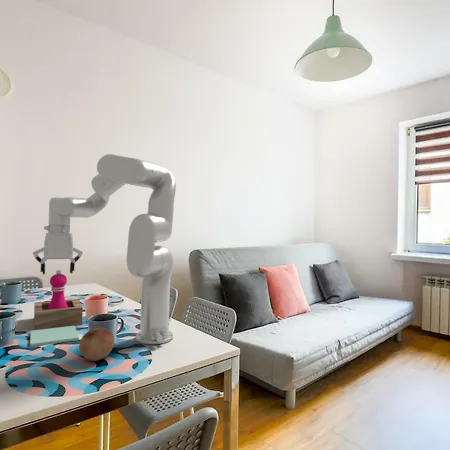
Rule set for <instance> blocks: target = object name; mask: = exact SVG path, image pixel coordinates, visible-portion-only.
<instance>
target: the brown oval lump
mask: <svg viewBox="0 0 450 450" xmlns="http://www.w3.org/2000/svg"><path fill="white" fill-rule="evenodd" d="M78 346H79V352H80V354H81V355H82V357H83V358H85V359H86V360H88V361H91V362H98V361H99V360H102V359H104V358H105V357H107V356H108V355H109V354H110V353H111V352H112V350H113V348H114V346H115V336H114V335H113V333H112V331H111V330H109V329H108V328H106V327H102V326H101V327H95V328H92V329H89V331H87V332H85V333H84V334H83V335H82V337H81V339H80V340H79V345H78Z"/></svg>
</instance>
